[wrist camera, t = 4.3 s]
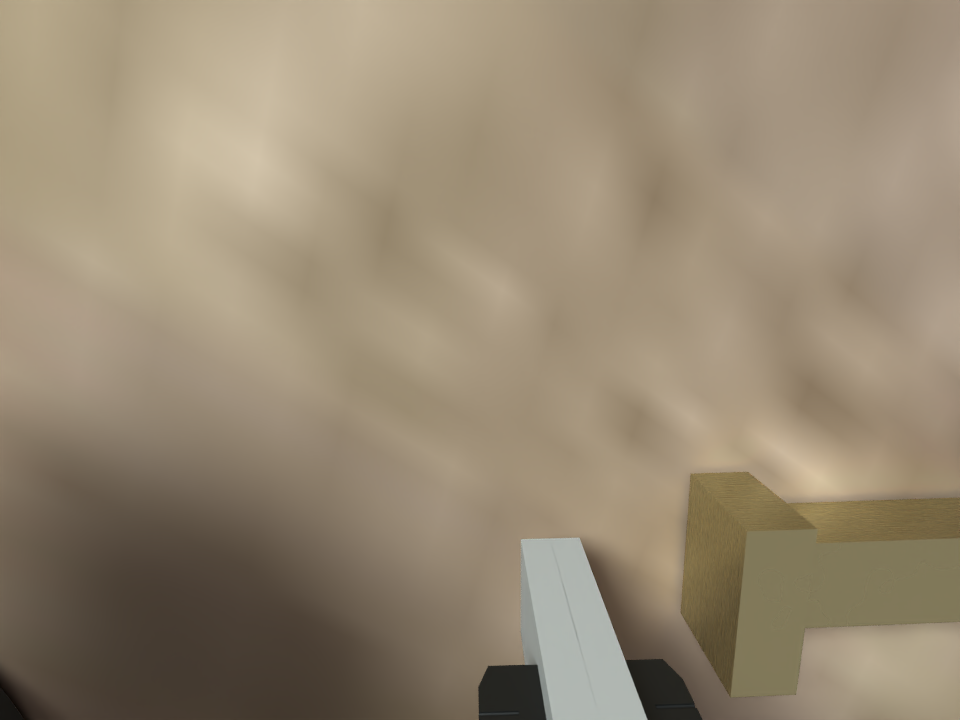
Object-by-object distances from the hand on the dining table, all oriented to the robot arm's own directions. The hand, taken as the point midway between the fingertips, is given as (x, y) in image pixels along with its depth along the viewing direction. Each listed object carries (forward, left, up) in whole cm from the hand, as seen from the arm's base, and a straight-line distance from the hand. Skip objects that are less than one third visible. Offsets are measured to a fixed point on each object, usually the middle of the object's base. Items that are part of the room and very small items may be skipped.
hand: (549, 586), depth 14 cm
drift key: (+9, 0, -1) cm, 9 cm away
